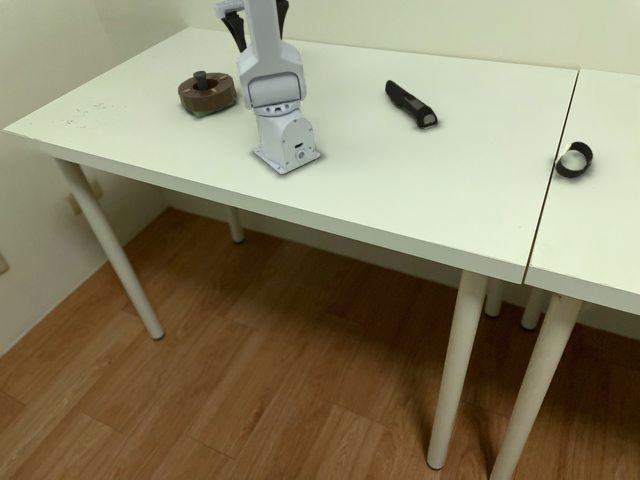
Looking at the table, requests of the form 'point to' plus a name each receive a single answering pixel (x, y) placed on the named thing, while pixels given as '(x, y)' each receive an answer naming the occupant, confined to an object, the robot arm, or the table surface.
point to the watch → (580, 148)
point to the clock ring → (207, 93)
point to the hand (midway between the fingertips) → (261, 47)
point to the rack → (202, 86)
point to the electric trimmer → (411, 105)
